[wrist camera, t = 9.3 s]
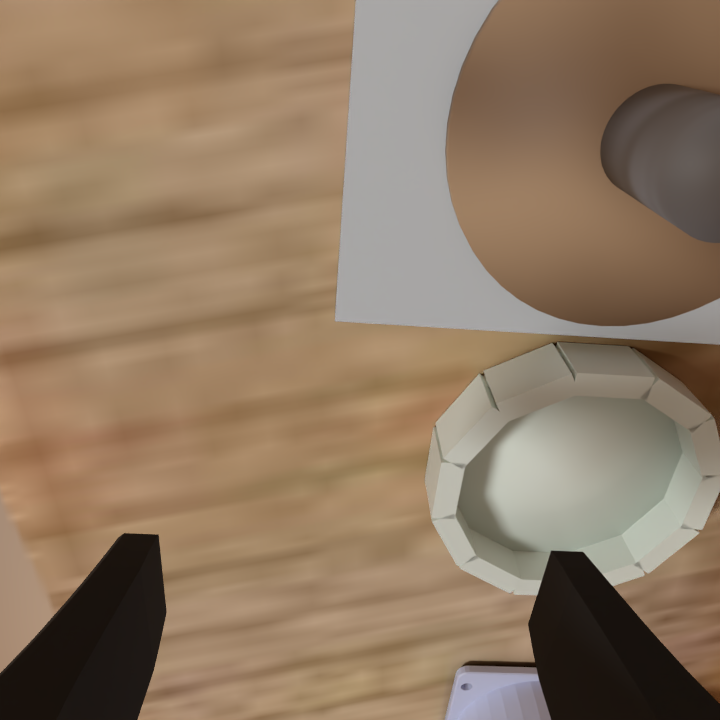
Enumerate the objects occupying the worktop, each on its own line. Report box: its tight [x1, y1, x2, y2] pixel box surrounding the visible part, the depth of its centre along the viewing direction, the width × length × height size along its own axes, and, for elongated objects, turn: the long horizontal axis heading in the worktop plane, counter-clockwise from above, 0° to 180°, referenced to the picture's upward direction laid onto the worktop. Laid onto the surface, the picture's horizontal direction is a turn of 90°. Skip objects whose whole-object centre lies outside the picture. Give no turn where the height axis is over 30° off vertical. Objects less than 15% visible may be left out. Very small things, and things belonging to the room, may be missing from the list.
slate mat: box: [335, 0, 720, 345], centre depth 17 cm, size 12×16×1 cm
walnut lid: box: [445, 0, 720, 326], centre depth 15 cm, size 11×11×5 cm
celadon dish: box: [425, 342, 720, 595], centre depth 22 cm, size 10×10×2 cm
